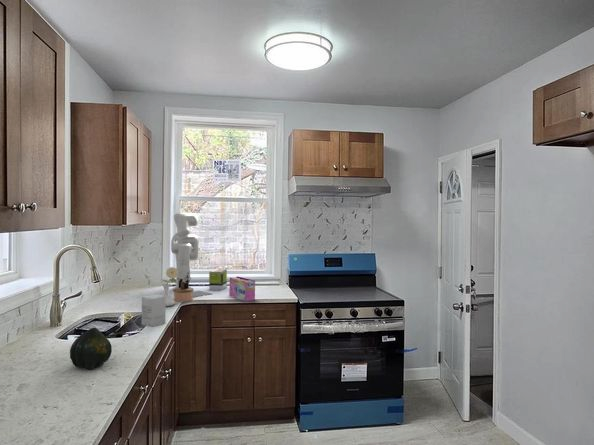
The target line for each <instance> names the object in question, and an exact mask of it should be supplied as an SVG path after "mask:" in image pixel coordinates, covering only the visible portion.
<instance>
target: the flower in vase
mask: <svg viewBox="0 0 594 445" xmlns="http://www.w3.org/2000/svg"><path fill="white" fill-rule="evenodd" d="M165 275H166V276H167V278H169V280H165V279H162V281H163V282H167V283H162V288H163V289H164V290H163V292H164V294H163V296H165V307H170V306H174V305H175V304H176V301H175V300H174V298H172V297H170V295H169V288H170V286H171V283H169V282H172V283H176V277H177V276H178V271H177V270H176V267H173V266H170V267H169V268H166V271H165Z"/></svg>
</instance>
